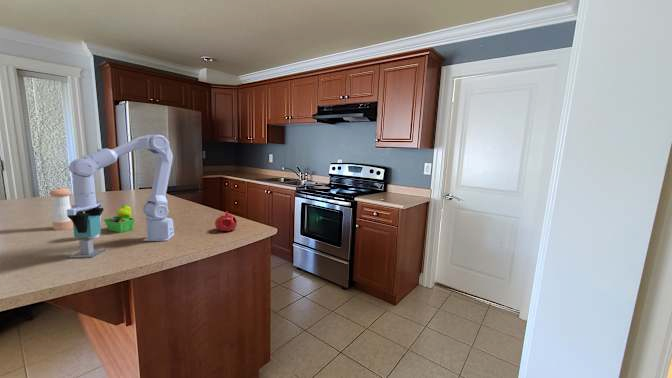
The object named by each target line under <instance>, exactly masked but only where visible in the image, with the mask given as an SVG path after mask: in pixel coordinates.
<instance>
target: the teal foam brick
mask: <svg viewBox="0 0 672 378" xmlns="http://www.w3.org/2000/svg"><path fill="white" fill-rule="evenodd" d="M101 233H102V229H101V222H100V216H89V217H88V220H87V231H86V233H78V231H77V229H76V227H75V225H74V223H73V235H74V236H73V237H74V238H88V237H93V236H95V235H97V234H101Z"/></svg>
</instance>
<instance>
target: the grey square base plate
mask: <svg viewBox="0 0 672 378" xmlns="http://www.w3.org/2000/svg"><path fill="white" fill-rule="evenodd" d="M93 240H94V238H91V239H89V238H82V239H80V240H79V242H78V243H79V251H78V252H76V253H74V254H71V255H70V256H68V259H93V258H95V257H96V256H97V255H100V254H101V253H103V252H105V249H103V248H102V249H101V248H99V249H96V248H94V241H93Z"/></svg>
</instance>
